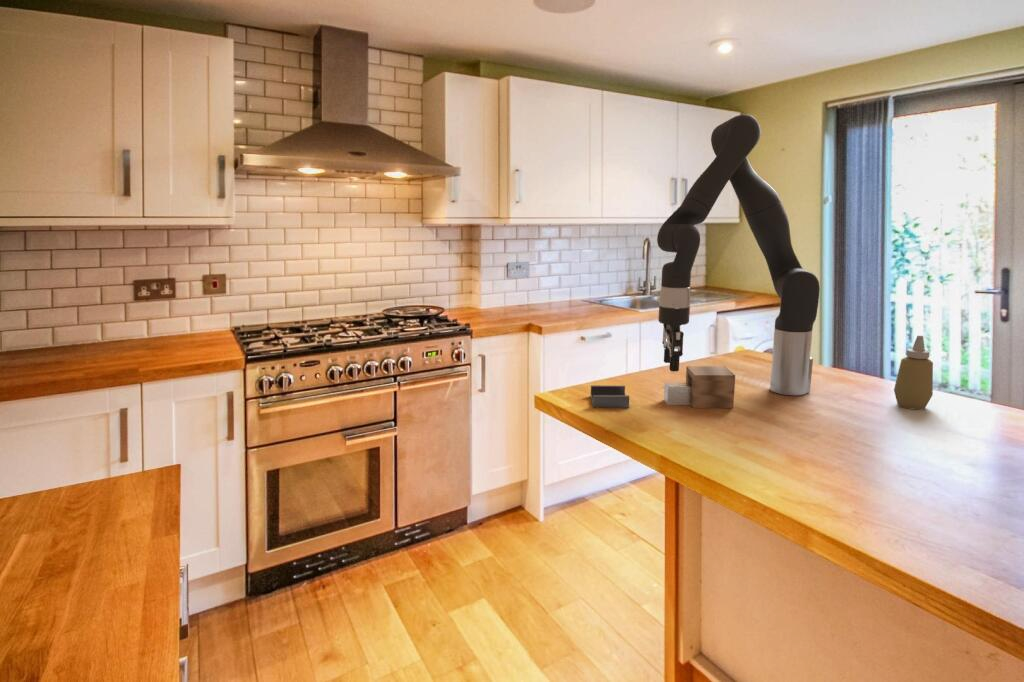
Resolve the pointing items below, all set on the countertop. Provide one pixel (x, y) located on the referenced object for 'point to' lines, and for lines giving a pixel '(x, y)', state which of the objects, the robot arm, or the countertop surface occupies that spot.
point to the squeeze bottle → (915, 378)
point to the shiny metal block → (678, 393)
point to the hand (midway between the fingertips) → (670, 366)
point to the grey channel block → (609, 396)
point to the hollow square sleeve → (711, 386)
